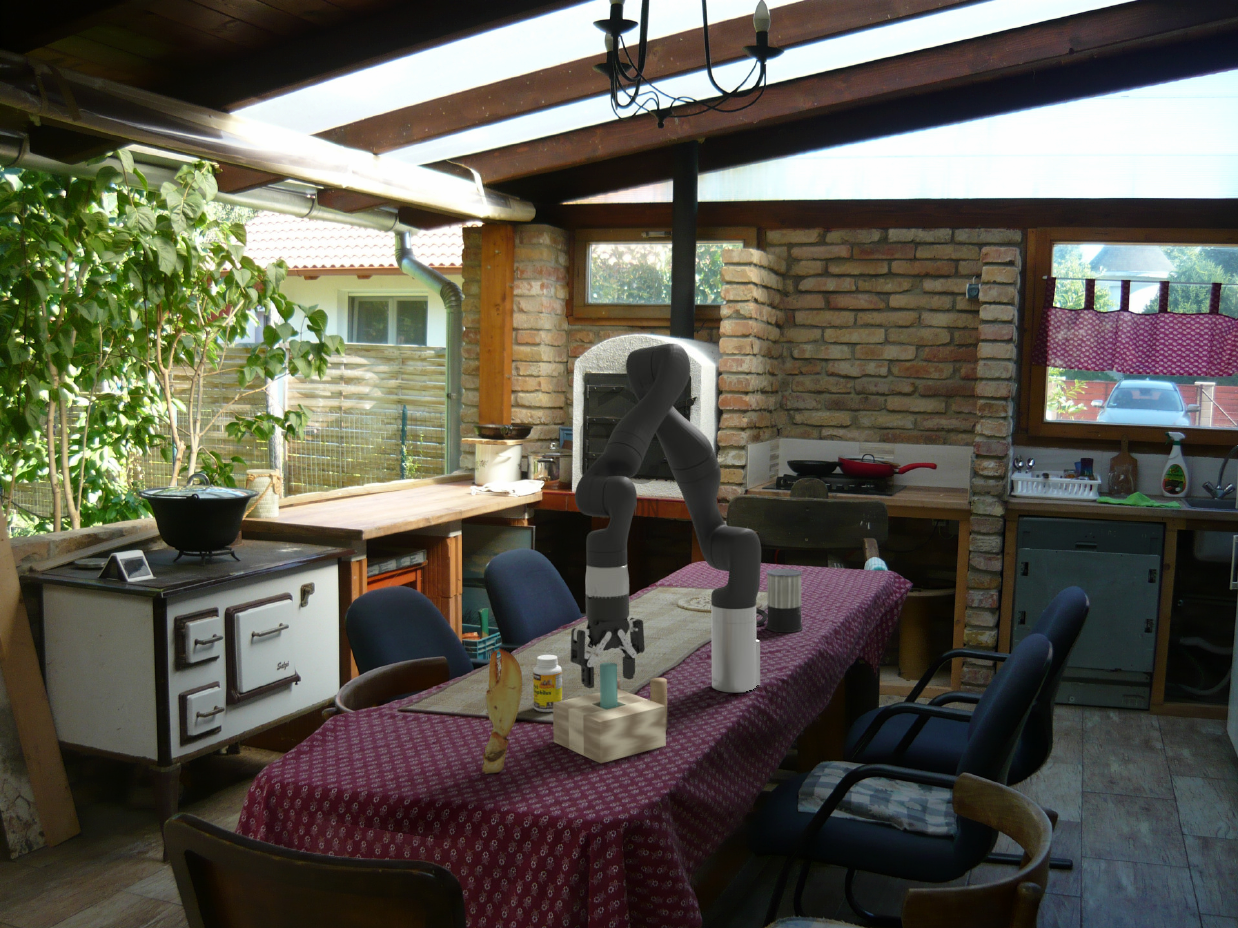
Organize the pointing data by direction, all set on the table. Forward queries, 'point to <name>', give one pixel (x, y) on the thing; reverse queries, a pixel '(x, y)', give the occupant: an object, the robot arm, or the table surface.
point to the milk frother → (783, 601)
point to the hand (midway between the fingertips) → (608, 682)
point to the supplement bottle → (547, 683)
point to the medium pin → (659, 692)
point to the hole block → (609, 726)
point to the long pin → (608, 685)
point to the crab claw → (501, 707)
